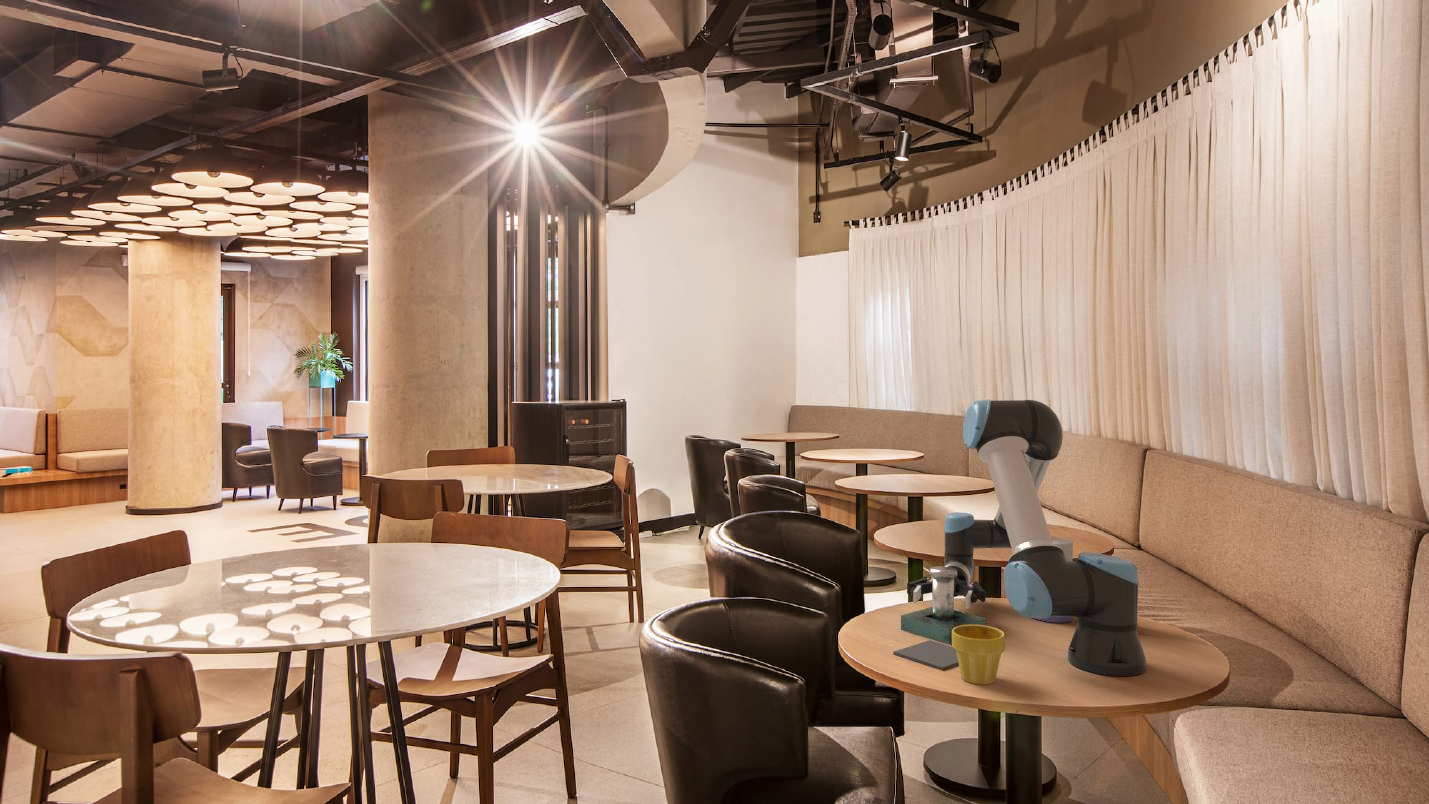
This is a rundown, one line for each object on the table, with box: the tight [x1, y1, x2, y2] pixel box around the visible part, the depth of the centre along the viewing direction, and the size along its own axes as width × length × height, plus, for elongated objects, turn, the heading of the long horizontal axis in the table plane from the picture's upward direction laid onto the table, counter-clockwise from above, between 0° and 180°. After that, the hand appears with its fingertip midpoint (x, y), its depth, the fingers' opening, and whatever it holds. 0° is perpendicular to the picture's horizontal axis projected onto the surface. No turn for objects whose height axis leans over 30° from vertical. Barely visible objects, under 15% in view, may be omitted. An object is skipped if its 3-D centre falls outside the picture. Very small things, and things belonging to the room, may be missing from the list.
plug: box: [929, 565, 957, 622], centre depth 205 cm, size 6×6×15 cm
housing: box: [900, 606, 986, 645], centre depth 205 cm, size 14×14×4 cm
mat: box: [892, 639, 959, 671], centre depth 187 cm, size 13×13×1 cm
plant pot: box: [951, 625, 1006, 685], centre depth 173 cm, size 10×10×10 cm
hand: (940, 600), depth 201 cm, fingers open, 11 cm apart
